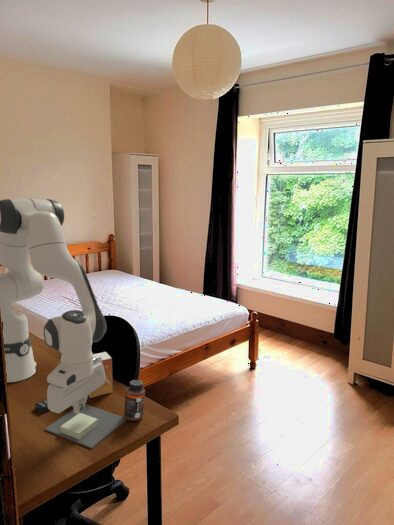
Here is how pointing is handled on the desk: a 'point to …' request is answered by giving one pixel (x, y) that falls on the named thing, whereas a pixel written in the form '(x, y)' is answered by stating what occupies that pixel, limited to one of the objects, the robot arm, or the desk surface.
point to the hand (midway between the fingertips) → (79, 411)
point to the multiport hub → (42, 406)
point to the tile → (79, 426)
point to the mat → (96, 435)
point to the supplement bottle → (134, 401)
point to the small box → (107, 385)
